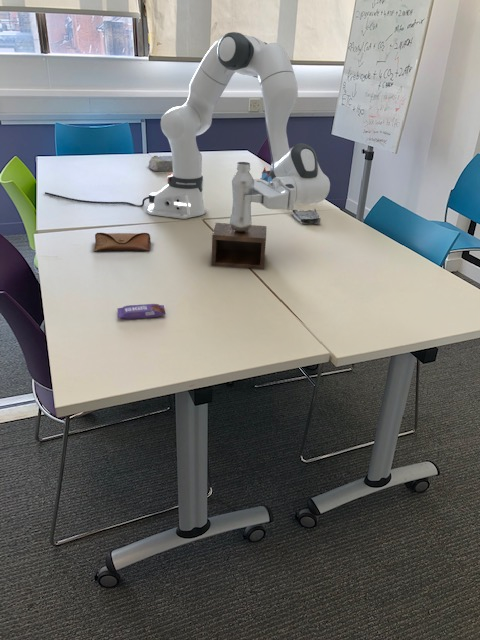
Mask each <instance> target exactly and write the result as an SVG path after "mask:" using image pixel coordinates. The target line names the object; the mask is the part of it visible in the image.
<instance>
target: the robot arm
mask: <svg viewBox="0 0 480 640" xmlns="http://www.w3.org/2000/svg"><path fill="white" fill-rule="evenodd" d="M235 73H237V74H240V75H242V76H248V77H253V78H256V79H258V83H259V85H260V86H259V87H260V90H261V91H260V92H261V95H262V100H263V106H264V107H263V109H264V120H265V121H264V122H265V129H266V136H267V141H268V147H269V153H270V169H269V171H270V174H271V178H272V181H271V182H267V181H265V180H262V179H260V178H253V179H254V187H253V192H252V195H250V194H247V195H246V194H245V195H244V201H246V202H251V203H258V204H260V205H262V206H263V207H265V208H266V209H268V210H287V211H291V210H295V205H300V206H306V205H312V204H313V205H314V204H317V203H321V202H323V201H324V200H325V199H326V198H327V197H328V195H329V192H330V191H331V182H330V179H329V176H327V175H326V174H325V173H324V172H323V170H322V169H321V167H320V164H319V162H318V156H317V153H316V151H315V150H314V148H313V147H311V146H310V145H308V144H306V143H297V144H294V146H292V147H290V145H289V140H288V134H287V125H288V121H289V118H290V115H291V113H292V111H293V109H294V107H295V105H296V104H297V100H298V97H299V91H298V89H299V88H298V82H297V78H296V74H295V70H294V68H293V65H292V62H291V60H290V57H289V55H288V53H287V51H286V49H285V47H284V46H283V44H280V43H278V42H269V43H267V42H265V41H263V40H260V39H258V38H256V37H254V36H250V35H246V34H243V33H241V32H237V31H231V32H226V34H224V35H223V36H222V37H221V39H218V40H216V41H215V42H214V43H213V45H211V47H210V48H209V50H208V51H207V52H206V54H205V55H204V57H203V58H202V60H201V61H200V64H199V66H198V68H197V69H196V71H195V73H194V75H193V77H192V79H191V80H190V83H189V84H188V85H189V86H188V88H189V89H188V90H189V92H188V96H187V100H186V102H184V104H182V105H179V106H174V107H172V108H170V109H169V110H167V111H166V112H164V113H163V114H162V116H161V119H160V129H161V131H162V133H163V135H164V136H165V137H166V138H167V140H168V143H169V147H170V150H171V156H172V162H173V171H172V172H169V174H168V175H167V184H166V185H165V186H164V187H162V188H161V189H160V190H158V191H157V192H153V191H152V192H151V193H150V194H148V196H146V197H144V198H143V199H142V203H141V204H140V205H137V204H135V203H131V202H129V201H96V200H95V201H94V200H84V199H77V198H72V197H67V196H63V195H59V194H54V193H50V192H46V191H45V192H44V194H45V195H48V196H52V197H56V198H61V199H64V200H68V201H74V202H78V203H85V204H86V203H87V204H101V205H103V204H106V205H116V204H117V205H122V204H123V205H129V206H133V207H138V208H142V207H144V206H145V201H147V200H148V203H150V204H149V206H148V208H147V214H148V215H151V216H159V217H164V218H165V217H167V218H173V219H180V220H181V219H182V220H186V219H190V218H196V217H200V216H202V215H204V214H206V211H207V210H206V208H205V204H204V197H203V190H204V176H203V155H202V153H201V151H200V150H199V147H198V144H197V137H198V136H200V135H202V134H204V133H206V132H207V130H209V128H211V126H212V122H213V114H214V111H215V108H216V107H217V104H218V102H219V101H220V98H221V97H222V95H223V93H224V91H225V90H226V88H227V86H228V84H229V83H230V81H231V79H232V77H233V76H234V75H235Z"/></svg>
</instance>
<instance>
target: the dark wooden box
mask: <svg viewBox="0 0 480 640" xmlns="http://www.w3.org/2000/svg"><path fill="white" fill-rule="evenodd" d="M266 242H267V226H266V225H255V224H254V225H253V224H251V228H250V229H249V230H247V231H236V230H233V229H232V228H231V226H230V223H223V222H222V223H221V222H215V225H214V228H213V231H212V235H211V266H212V267H222V268H223V267H225V268H239V269H253V270H265V257H266Z"/></svg>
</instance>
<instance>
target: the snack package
mask: <svg viewBox="0 0 480 640" xmlns="http://www.w3.org/2000/svg"><path fill="white" fill-rule="evenodd" d="M116 309H117V318H118V319H124V320H138V319H151V318H159V317H161V316H166V315H167V313H166V309H165V305H164V304H159V303H146V304H131V305H125V306H122V307H117V308H116Z"/></svg>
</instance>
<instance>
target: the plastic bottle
mask: <svg viewBox="0 0 480 640" xmlns="http://www.w3.org/2000/svg"><path fill="white" fill-rule="evenodd" d="M236 170H237V172H236V173H235V174H234V175H233V177H232V179H231V189H232V207H231V214H230V217H229V224H230V226H231V228H232V229H233V230H236V231H247V230H249V229H250V228H251V225H253V221H252V202H246V201H244V195H245V194H246V195H247V194H250V195H252V192H253V187H254V179H255V178H254V177H253V175H252V173H250V171H251V163H250V162H247V161H238V162H237V163H236Z"/></svg>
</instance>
